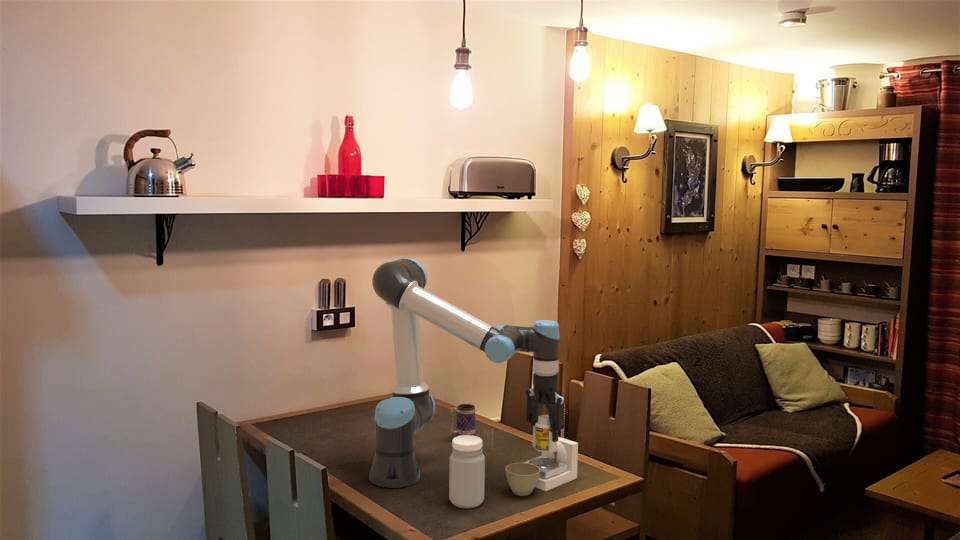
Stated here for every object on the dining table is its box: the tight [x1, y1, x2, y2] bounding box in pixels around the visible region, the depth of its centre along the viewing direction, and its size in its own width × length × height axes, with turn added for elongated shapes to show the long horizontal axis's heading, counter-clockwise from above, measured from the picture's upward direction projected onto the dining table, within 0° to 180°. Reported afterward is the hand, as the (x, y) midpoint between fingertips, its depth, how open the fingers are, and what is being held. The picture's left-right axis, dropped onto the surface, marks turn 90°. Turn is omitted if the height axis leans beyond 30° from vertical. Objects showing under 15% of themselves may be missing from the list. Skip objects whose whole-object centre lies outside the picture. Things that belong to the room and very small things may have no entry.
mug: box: [449, 403, 477, 437], centre depth 264 cm, size 10×7×12 cm
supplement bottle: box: [534, 414, 551, 453], centre depth 228 cm, size 6×6×10 cm
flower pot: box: [505, 462, 540, 497], centre depth 219 cm, size 10×10×7 cm
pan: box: [522, 455, 567, 479], centre depth 229 cm, size 10×10×2 cm
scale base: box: [535, 436, 579, 492], centre depth 230 cm, size 15×12×11 cm
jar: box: [448, 435, 486, 509], centre depth 212 cm, size 10×10×18 cm
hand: (544, 448), depth 228 cm, fingers closed on supplement bottle, 6 cm apart
